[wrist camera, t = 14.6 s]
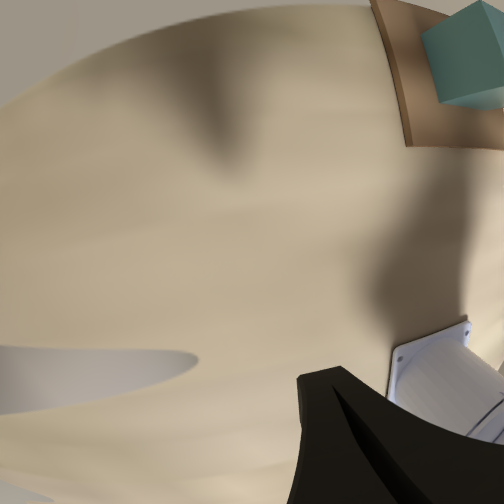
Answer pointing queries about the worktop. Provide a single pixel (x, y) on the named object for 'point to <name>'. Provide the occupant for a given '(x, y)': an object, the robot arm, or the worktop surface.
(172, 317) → the worktop surface
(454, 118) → the post board
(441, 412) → the robot arm
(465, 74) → the teal rectangular block
